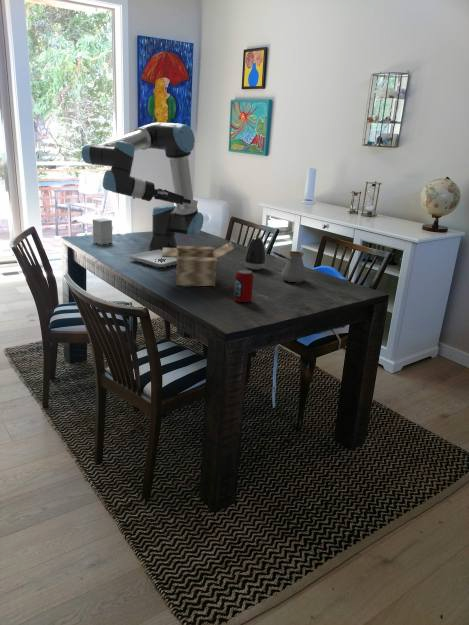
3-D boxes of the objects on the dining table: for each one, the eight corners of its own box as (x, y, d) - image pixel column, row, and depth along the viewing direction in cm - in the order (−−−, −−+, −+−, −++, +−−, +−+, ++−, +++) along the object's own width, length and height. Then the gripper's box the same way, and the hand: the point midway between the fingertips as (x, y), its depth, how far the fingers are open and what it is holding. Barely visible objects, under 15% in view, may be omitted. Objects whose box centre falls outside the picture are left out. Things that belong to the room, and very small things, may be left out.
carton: (161, 289, 201) (161, 258, 196) (162, 272, 223) (163, 244, 219) (215, 291, 204) (217, 260, 199) (211, 274, 226) (213, 247, 222)
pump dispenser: (268, 267, 243) (271, 237, 238) (260, 272, 234) (263, 240, 229) (249, 264, 247) (251, 233, 242) (240, 268, 238) (243, 237, 233)
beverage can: (233, 297, 197) (235, 268, 193) (250, 298, 198) (252, 269, 194) (234, 303, 191) (236, 273, 187) (252, 304, 191) (254, 274, 187)
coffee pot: (292, 275, 233) (295, 244, 228) (311, 282, 225) (315, 249, 220) (259, 282, 219) (262, 249, 214) (278, 289, 211) (282, 255, 206)
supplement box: (112, 243, 268) (112, 220, 264) (101, 245, 263) (100, 221, 258) (104, 241, 273) (104, 217, 268) (92, 242, 267) (92, 219, 263)
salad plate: (159, 255, 254) (159, 248, 253) (191, 263, 243) (191, 256, 241) (127, 262, 237) (127, 255, 236) (161, 271, 226) (161, 264, 225)
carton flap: (233, 248, 204) (234, 250, 204) (230, 241, 216) (231, 242, 216) (216, 257, 204) (217, 259, 204) (214, 250, 217) (214, 251, 217)
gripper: (136, 200, 206) (189, 214, 217) (145, 197, 195) (200, 212, 205) (139, 182, 206) (192, 196, 217) (148, 178, 194) (204, 194, 205)
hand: (196, 204), depth 211 cm, fingers closed
